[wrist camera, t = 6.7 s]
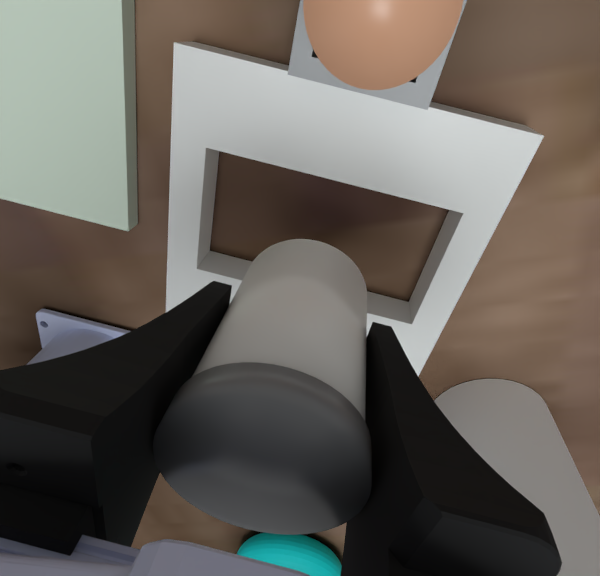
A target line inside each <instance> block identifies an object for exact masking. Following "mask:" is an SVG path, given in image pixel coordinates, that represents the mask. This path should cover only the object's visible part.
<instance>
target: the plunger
mask: <svg viewBox="0 0 600 576" xmlns="http://www.w3.org/2000/svg"><path fill="white" fill-rule="evenodd" d="M462 5H463V0H303V12H304V21H305V26H306V31H307V34H308V38H309V41H310V43H311V45H312V48H313V50H314V52H315V54H316V55H317V57H318V58H319V60H320V62H321V63H322V64H323V65H324V66H325V68H326V69H327V70H328V71H329V72H330V73H331V74H333V75H334V76H335V77H336V78H338V79H339V80H341V81H342V82H344V83H346V84H348V85H350V86H353V87H356V88H360V89H366V90H384V89H390V88H394V87H397V86H400V85H402V84H405V83H407V82H409V81H410V80H412V79H414V78H416V77H417V76H418V75H420V74H421V73H423V72H424V71H425V70H426V69H427V68H428V67H429V66H431V65H432V64H433V63H434V61H435V60H436V59H437V58H438V57H439V56H440V54H441V53H442V51H443V50H444V49H445V47H446V46H447V44H448V42H449V40H450V39H451V37H452V35H453V33H454V30H455V28H456V26H457V23H458V20H459V17H460V14H461V10H462Z"/></svg>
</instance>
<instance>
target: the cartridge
mask: <svg viewBox="0 0 600 576" xmlns="http://www.w3.org/2000/svg"><path fill="white" fill-rule="evenodd" d="M366 339H367V289H366V283H365V281H364V278H363V275H362V274H361V272H360V270H359V268H358V267H357V266H356V264H355V263H354V262H353V261H352V260H351V259H350V258H349V257H348V256H347V255H346V254H344V253H343V252H342V251H340V250H338V249H337V248H335V247H333V246H331V245H329V244H326V243H323V242H320V241H316V240H310V239H292V240H286V241H282V242H279V243H276V244H274V245H272V246H270V247H268V248H267V249H265V250H263V251H262V252H261V253H260V254H259V255H258V256H257V257H256V258H255V259H254V260H253V262H252V264H251V265H250V267H249V269H248V271H247V273H246V274H245V276H244V278H243V280H242V282H241V284H240V286H239V288H238V290H237V292H236V294H235V296H234V297H233V299H232V301H231V303H230V305H229V307H228V309H227V311H226V313H225V315H224V317H223V319H222V320H221V322H220V324H219V326H218V328H217V330H216V332H215V334H214V336H213V338H212V340H211V341H210V343H209V345H208V347H207V349H206V351H205V353H204V355H203V357H202V359H201V361H200V363H199V364H198V366H197V368H196V370H195V372H194V374H193V376H192V378H190V379H189V380H188V381H186V382H185V383H184V384H183V385H182V386H181V387H180V388H179V390H178V391H177V393H176V395H175V396H174V398H173V400H172V402H171V403H170V405H169V407H168V409H167V411H166V413H165V415H164V416H163V418H162V420H161V422H160V424H159V426H158V427H157V429H156V432H155V435H154V439H153V454H154V458H155V461H156V464H157V466H158V468H159V471H160V472H161V474H162V475H163V477H164V479H165V480H166V481H167V482H168V484H169V485H170V486H171V487H172V488H173V489H174V490H175V491H176V492H177V493H178V494H179V495H180V496H181V497H183V498H184V499H185V500H186V501H188V502H189V503H190V504H192V505H193V506H195V507H196V508H198V509H200V510H201V511H203V512H205V513H207V514H209V515H211V516H213V517H215V518H217V519H219V520H222V521H224V522H227V523H229V524H232V525H235V526H238V527H242V528H245V529H249V530H254V531H258V532H265V533H272V534H284V535H297V534H309V533H316V532H321V531H325V530H329V529H332V528H335V527H337V526H340V525H342V524H344V523H346V522H347V521H349V520H350V519H352V518H353V517H355V516H356V515H357V514H358V513H359V512H360V511H361V510H362V509H363V507H364V506H365V504H366V503H367V501H368V498H369V496H370V493H371V487H372V446H371V437H370V432H369V429H368V427H367V425H366V422H365V408H366Z"/></svg>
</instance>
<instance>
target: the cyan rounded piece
mask: <svg viewBox="0 0 600 576" xmlns="http://www.w3.org/2000/svg"><path fill="white" fill-rule="evenodd" d="M237 555H240V556H244V557H248V558H252V559H256V560H259V561H263V562H267V563H271V564H274V565H278V566H282V567H286V568H290V569H293V570H297V571H301V572H303V573H305V574H308V575H310V576H341V568H342V565H341V563H340V561H339V559H338V557H337V556H336V555H335V554H334V553H333V551H332V550H331V549H329V548H328V547H327V546H325V545H324V544H322V543H321V542H319V541H317V540H315V539H313V538H311V537H308V536H305V535H301V534H297V535H284V534H272V533H265V532H264V533H260V534H257V535H255V536H253V537H251V538H249V539H248V540H246V541H245V542H244V543H243V544H242V546H241V547H240V548H239V550H238V552H237Z"/></svg>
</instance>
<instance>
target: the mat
mask: <svg viewBox="0 0 600 576" xmlns="http://www.w3.org/2000/svg"><path fill="white" fill-rule="evenodd" d="M0 198H1V199H4V200H8V201H12V202H16V203H20V204H24V205H28V206H32V207H35V208H39V209H43V210H47V211H51V212H55V213H59V214H63V215H67V216H70V217H74V218H78V219H82V220H86V221H90V222H94V223H98V224H101V225H105V226H109V227H113V228H117V229H121V230H125V231H130V230H131V229H132V228H133V227H135V226H136V225H137V224H138V200H137V134H136V68H135V2H134V0H0Z"/></svg>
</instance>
